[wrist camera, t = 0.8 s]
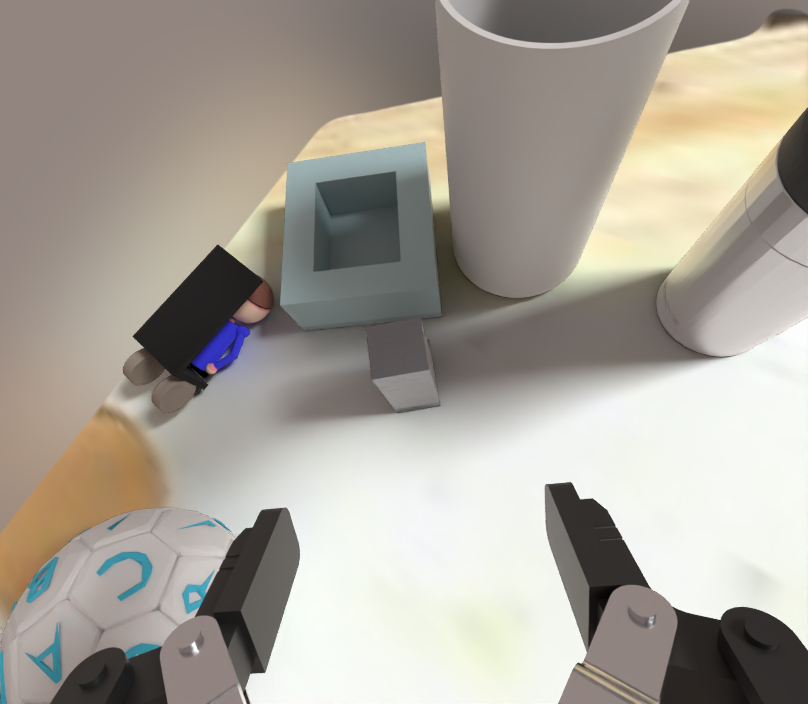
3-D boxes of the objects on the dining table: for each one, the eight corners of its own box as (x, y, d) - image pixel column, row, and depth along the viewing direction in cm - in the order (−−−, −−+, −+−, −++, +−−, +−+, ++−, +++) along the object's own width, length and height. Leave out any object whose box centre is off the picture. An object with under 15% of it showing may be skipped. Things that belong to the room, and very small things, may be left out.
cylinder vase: (599, 283, 42) (757, -1, 19) (470, 314, 43) (468, 80, 19) (556, 181, 46) (641, -151, 23) (441, 211, 47) (410, -79, 24)
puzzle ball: (175, 758, 34) (-32, 930, 20) (94, 589, 39) (-115, 633, 25) (326, 614, 36) (232, 680, 22) (229, 471, 41) (104, 451, 27)
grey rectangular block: (440, 405, 40) (429, 369, 30) (397, 413, 41) (371, 379, 30) (430, 345, 42) (416, 292, 32) (389, 352, 43) (362, 302, 32)
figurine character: (204, 423, 45) (297, 304, 46) (145, 414, 37) (258, 274, 38) (164, 384, 47) (253, 272, 48) (101, 369, 40) (208, 237, 41)
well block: (430, 184, 49) (424, 142, 43) (441, 316, 43) (437, 287, 38) (308, 201, 50) (287, 163, 45) (303, 331, 45) (279, 305, 39)
